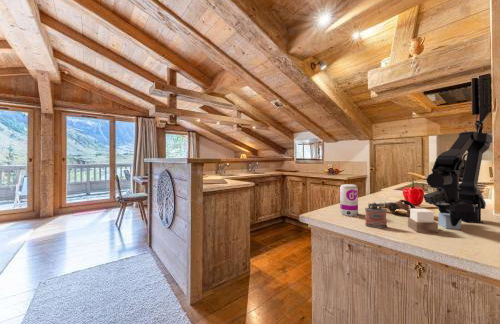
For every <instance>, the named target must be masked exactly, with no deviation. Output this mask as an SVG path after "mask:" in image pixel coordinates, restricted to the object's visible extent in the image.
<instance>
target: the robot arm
mask: <svg viewBox="0 0 500 324" xmlns="http://www.w3.org/2000/svg"><path fill="white" fill-rule="evenodd" d="M491 143H493V136H492V135H491V134H489V133H488V132H479V131H473V130H472V131H470V130H469V131H462V132H460V133H458V137H457V139H456V140H455V141H454V142H453V144H452V145H451V146H450V147H449V148H448V150H446V151H443V152H441V153H440V154H439V155H438V156H437V157H436V159H435V161H434V164H433V166H432V168H431V172H432V173H430V174H429V175H428V176H427V177H426V183H427V185H428V186H430V187H431V188H434V189H436V191H431V192H429V193H425V194H423V195H422V197H423V199H424V201H425V203H426V204H430V205H433V206H435V207H436V208H437V209H438V212H439V213H450V217H451V223H452V226H456V225H457V223H458V222H459V221H460V219H461V222H465V223H475V224H476V223H479V224H480V223H481V224H484V223H485V222H484V220H482V210H485V209H486V207H487V206H486V204H487V203H486V201H485V200H484V198H483V196H482V190H481V189H480V188H479V186H478V183H479V182H478V181H479V177H480V170H481V166H482V165H481V164H482V159H483V154H484V153H486V152H487V151H488V150H489V149H490V146H491ZM466 153H467V154H466ZM465 154H466V158H465V159H466V160H465V161H464V158H463V157H464V155H465ZM464 163H465V164H464ZM463 165H464V171H463V176H462V181H461V183H460V175H461V169H462V167H463Z"/></svg>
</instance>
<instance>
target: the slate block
mask: <svg viewBox="0 0 500 324" xmlns="http://www.w3.org/2000/svg"><path fill="white" fill-rule="evenodd" d="M437 223H438V226H440V227H442V228H444V229H448V230H449V229H450V230H451V229H452V230H462V220H461V219H460V221H459V222H458V223H457V225H456V226H452V223H451V217H450V213H440V212H438V222H437Z"/></svg>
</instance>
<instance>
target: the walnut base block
mask: <svg viewBox="0 0 500 324" xmlns="http://www.w3.org/2000/svg"><path fill="white" fill-rule="evenodd" d="M407 227H408V228H410V229H411V230H413V231H414V232H416V233H419V234H420V233H423V234H439V228H438V227H439V225H438V222H436V221H434V223H431V222H416V221H414V220H413V219H411V218H410V217H408V218H407Z"/></svg>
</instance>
